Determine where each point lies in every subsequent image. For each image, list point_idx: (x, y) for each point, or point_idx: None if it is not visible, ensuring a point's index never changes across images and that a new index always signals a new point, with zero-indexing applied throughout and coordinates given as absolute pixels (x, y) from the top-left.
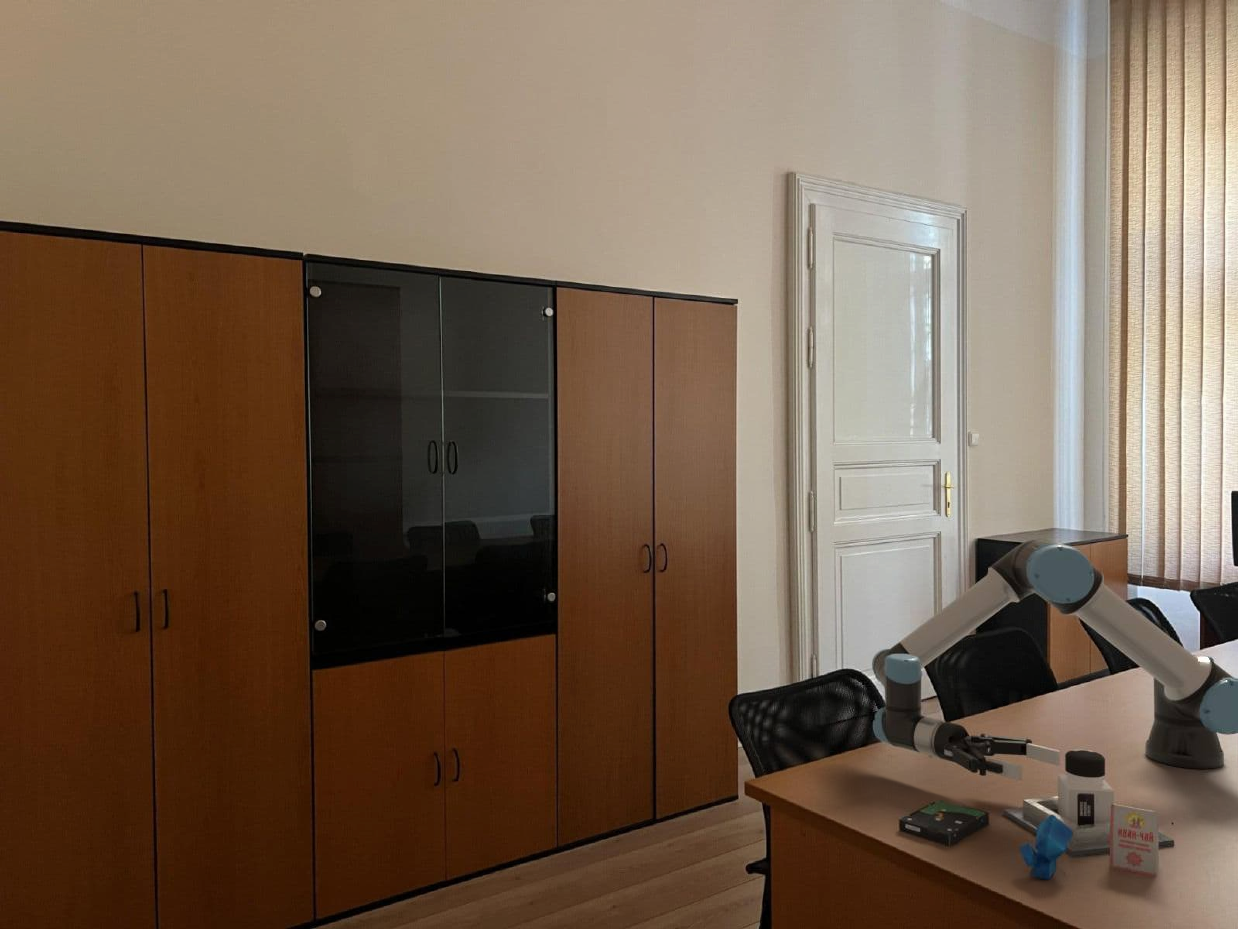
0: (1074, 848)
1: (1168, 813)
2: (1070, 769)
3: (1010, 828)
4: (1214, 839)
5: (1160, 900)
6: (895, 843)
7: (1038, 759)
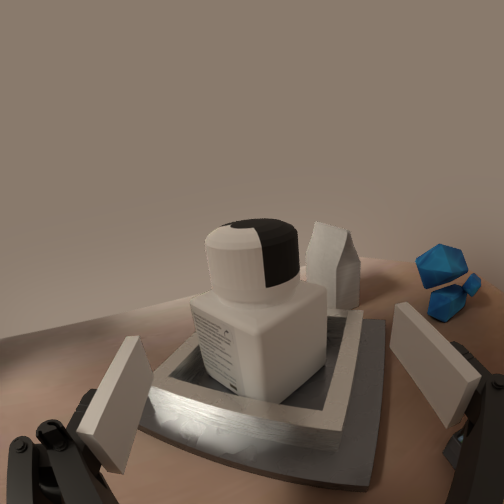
0: (376, 323)
1: (97, 351)
2: (298, 261)
3: (410, 424)
4: (165, 308)
5: (368, 270)
6: None
7: (134, 428)
